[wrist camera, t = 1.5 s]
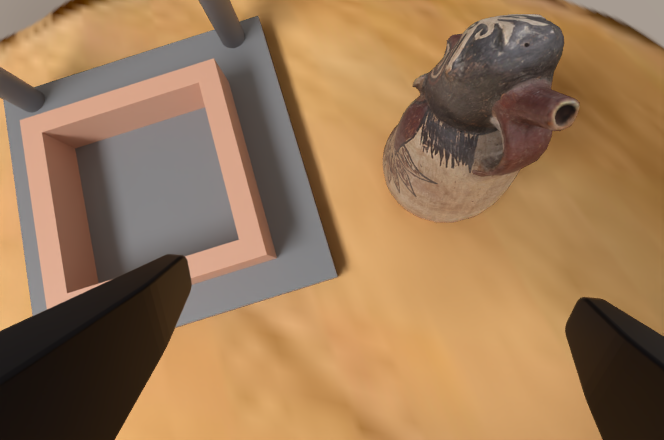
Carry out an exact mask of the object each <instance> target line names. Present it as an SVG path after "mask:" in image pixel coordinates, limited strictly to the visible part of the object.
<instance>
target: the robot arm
mask: <svg viewBox="0 0 664 440" xmlns="http://www.w3.org/2000/svg"><path fill="white" fill-rule="evenodd" d="M191 287H192V282H191V276H190V271H189V266H188V261H187V258H186V257H185V256H183V255H177V254H166V255H164V256H162V257H160V258H157V259H155V260H153V261H151V262H149V263H147V264H144V265H142V266H140V267H138V268H136V269H134V270H131V271H129V272H127V273H125V274H123V275H121V276H118V277H116V278H114V279H112V280H110V281H108V282H105V283H103V284H101V285H99V286H97V287H95V288H92V289H90V290H88V291H86V292H84V293H82V294H79V295H77V296H75V297H73V298H71V299H69V300H66V301H64V302H62V303H60V304H58V305H56V306H53V307H51V308H49V309H47V310H45V311H43V312H40V313H38V314H36V315H34V316H32V317H30V318H27V319H25V320H23V321H21V322H19V323H17V324H14V325H12V326H10V327H8V328H6V329H4V330H2V331H0V440H115V438H116V436H117V435H118V433H119V431H120V429H121V428H122V426H123V424H124V422H125V420H126V419H127V417H128V415H129V413H130V412H131V410H132V408H133V406H134V404H135V403H136V401H137V399H138V397H139V396H140V394H141V392H142V390H143V388H144V387H145V385H146V383H147V381H148V380H149V378H150V376H151V374H152V372H153V371H154V369H155V367H156V365H157V364H158V362H159V360H160V358H161V356H162V355H163V353H164V351H165V349H166V347H167V345H168V343H169V341H170V338H171V336H172V334H173V331H174V329H175V327H176V324H177V322H178V320H179V317H180V315H181V313H182V310H183V308H184V306H185V303H186V301H187V299H188V296H189V294H190V291H191ZM565 332H566V337H567V340H568V344H569V347H570V350H571V353H572V357H573V360H574V363H575V366H576V370H577V373H578V376H579V379H580V383H581V386H582V389H583V392H584V395H585V398H586V401H587V403H588V406H589V408H590V411H591V413H592V416H593V418H594V420H595V423H596V425H597V427H598V430H599V432H600V434H601V437H602V439H603V440H664V336H662V335H661V334H659V333H657V332H656V331H654V330H652V329H651V328H649V327H647V326H646V325H644V324H643V323H641V322H639V321H638V320H636V319H634V318H633V317H631V316H630V315H628V314H626V313H625V312H623V311H621V310H620V309H618V308H617V307H615V306H613V305H612V304H610V303H608V302H607V301H605V300H603V299H599V298H589V297H582V298H580V299H579V300H578V301H577V303H576V305H575V307H574V309H573V311H572V313H571V315H570V317H569V319H568V321H567V323H566V327H565Z"/></svg>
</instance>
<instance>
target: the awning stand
mask: <svg viewBox="0 0 664 440" xmlns="http://www.w3.org/2000/svg"><path fill="white" fill-rule="evenodd" d="M199 2H200V4H201V5H202V7H203V9H204V11H205V13H206V14H207V16H208V18H209V20H210V22H211V23H212V25H213V27H214V29H215V30H212V31H209V32H206V33H203V34H199V35H196V36H193V37H190V38H187V39H184V40H181V41H177V42H174V43H171V44H168V45H165V46H162V47H159V48H156V49H152V50H149V51H146V52H143V53H140V54H137V55H134V56H131V57H127V58H124V59H121V60H118V61H115V62H112V63H109V64H106V65H102V66H99V67H96V68H93V69H90V70H87V71H84V72H81V73H77V74H74V75H71V76H68V77H65V78H62V79H59V80H56V81H52V82H49V83H46V84H43V85H40V86H37V87H32V86H31V85H29V84H27V83H26V82H24V81H22V80H21V79H19V78H18V77H16V76H14V75H13V74H11V73H9V72H8V71H6V70H4V69H3V68H1V67H0V98H2V99H3V100H4V108H5V115H6V122H7V130H8V137H9V144H10V152H11V159H12V167H13V174H14V181H15V189H16V196H17V203H18V211H19V218H20V226H21V233H22V240H23V248H24V255H25V262H26V270H27V277H28V284H29V292H30V299H31V307H32V314H33V316H34V315H36V314H38V313H40V312H43V311H45V310H47V309H49V308H51V307H53V306H56V305H58V304H60V303H62V302H64V301H66V300H69V299H71V298H73V297H75V296H77V295H79V294H82V293H84V292H86V291H88V290H90V289H92V288H95V287H97V286H99V285H101V284H103V283H105V282H108V281H110V280H112V279H114V278H116V277H118V276H121V275H123V274H125V273H127V272H129V271H131V270H134V269H136V268H138V267H140V266H142V265H144V264H147V263H149V262H151V261H153V260H155V259H157V258H160V257H162V256H164V255H166V254H177V255H183V256H185V257H186V258H187V261H188V266H189V271H190V276H191V282H192V287H191V291H190V294H189V296H188V299H187V301H186V303H185V306H184V308H183V310H182V313H181V315H180V317H179V320H178V322H177V324H176V327H179V326H183V325H186V324H189V323H192V322H195V321H199V320H202V319H205V318H208V317H211V316H215V315H218V314H221V313H224V312H228V311H231V310H234V309H237V308H240V307H244V306H247V305H250V304H253V303H256V302H260V301H263V300H266V299H269V298H273V297H276V296H279V295H282V294H285V293H289V292H292V291H295V290H298V289H301V288H305V287H308V286H311V285H314V284H318V283H321V282H324V281H327V280H330V279H334V278H337V277H338V275H337V272H336V268H335V265H334V262H333V258H332V255H331V252H330V249H329V245H328V242H327V239H326V235H325V232H324V229H323V226H322V222H321V219H320V216H319V212H318V209H317V206H316V203H315V199H314V196H313V193H312V189H311V186H310V183H309V180H308V176H307V173H306V170H305V166H304V163H303V160H302V157H301V153H300V150H299V147H298V144H297V140H296V137H295V134H294V130H293V127H292V124H291V121H290V117H289V114H288V111H287V107H286V104H285V101H284V98H283V94H282V91H281V88H280V84H279V81H278V78H277V75H276V71H275V68H274V65H273V61H272V58H271V55H270V52H269V48H268V45H267V42H266V38H265V35H264V32H263V29H262V25H261V23H260V20H259V17H258V16H256V17H253V18H249V19H246V20H243V21H240V22H239V20H238V18H237V16H236V13H235V11H234V9H233V7H232V4H231V2H230V0H199ZM176 327H175V328H176Z"/></svg>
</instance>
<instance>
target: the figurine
mask: <svg viewBox="0 0 664 440" xmlns="http://www.w3.org/2000/svg"><path fill="white" fill-rule="evenodd" d="M563 46H564V36H563V34H562V31H561V29H560V28H559V27H558V26H556V25H555V24H553V23H552V22H550V21H547V20H546V19H545V18H544V17H542V16H541V15H536V14H512V15H503V16H496V17H490V18H486V19H483V20H480V21H477V22H475V23H474V24H472V25H471V26H470V27H469V28H467V29H466V30H465V32H464V33H463V34H457V35H452V36H451V37H450V38H449V39H448V40H447V47H446V51H445V54H444V57H443V58H442V60H441V61H440V62H439V63H438V64H437V65H436V66H435V67H434V68H433V69H432V70H431V71H430V72H429V73H427V74H424V75H421V76H420V77H418V78H417V79H415V81H414V83H413V87H416V88H417V89H418V90H419V91H420V96H419V97H418V98H417V99H415V100H414V101H413V102H412V103H411V104H410V105H409V106H408V108H407V109H406V110H405V112H404V113H403V115H402V117H401V120H400V122H399V124H398V125H397V126H396V127H395V128H394V130H393V131H392V133H391V134H390V136H389V138H388V140H387V143H386V145H385V148H384V154H383V170H384V176H385V180H386V184H387V187H388V189H389V191H390V193H391V194H392V196H393V197H394V198H395V199H396V200H397V202H398V203H399V204H400V205H401V206H402V207H403V208H405V209H406V210H407V211H408V212H410V213H412V214H414V215H416V216H418V217H419V218H422V219H426V220H430V221H433V222H456V221H460V220H464V219H467V218H471V217H474V216H476V215H478V214H479V213H481V212H482V211H484V210H485V209H487V208H488V207H490V206H491V205H493V204H494V203H495V202H496V201H497V200H498V199H499V198H500V197H501V196H502V194H503V193H504V192H505V191H506V190H507V188H508V187H509V186H510V184H511V183H512V182H513V180H514V179H515V177H516V176H517V174H518V172H519V171H520V169H522V168H524V167H526V166H527V165H529V164H531V163H533V162H535V161H537V160H538V159H539V158H540V156H541V155H542V154H543V153H544V151H545V150H546V149H547V147H548V144H549V142H550V139H551V136H552V131H561V130H564V129H565V128H567V127H569V126H571V125H572V123H573V122H574V120H575V118H576V117H577V114H578V111H579V102H578V101H577V100H576V99H574V98H572V97H569V96H567V95H564V94H561V93H559V92H556V91H553V90H551V85H552V79H553V73H554V70H555V69H556V66H557V64H558V62H559V60H560V57H561V55H562V51H563Z"/></svg>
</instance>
